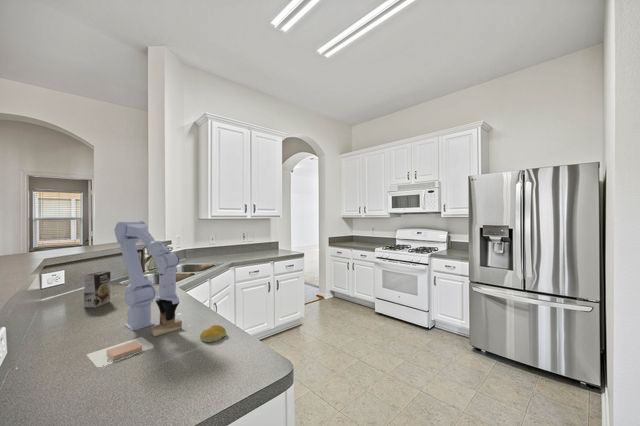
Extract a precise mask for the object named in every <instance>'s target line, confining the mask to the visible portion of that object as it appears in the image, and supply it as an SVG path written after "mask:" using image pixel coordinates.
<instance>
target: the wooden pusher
mask: <svg viewBox="0 0 640 426" xmlns="http://www.w3.org/2000/svg"><path fill="white" fill-rule="evenodd" d="M180 328H181V329H182V328H183V321H182V320H181V319H179V318H178V319H176V313H175V314H174V317H173V319H172V320H169V321H167V319H166V313H165V312H164V313H160V312H159V323H158V324H154V325H151V329H150V330H151V333H150V334H151V335H152V336H153V337H157V336H161V335H165V334H167V333H170V332H175V331H178V330H180ZM177 329H178V330H177Z"/></svg>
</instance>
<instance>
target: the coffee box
mask: <svg viewBox="0 0 640 426" xmlns="http://www.w3.org/2000/svg"><path fill="white" fill-rule="evenodd" d="M111 273H112V272H111V271H98V272H93V273H89V274H85V275H84V283H83V284H84V285H83V286H84V291H83V292H84V293H83V308H98V307H101V306H103V305H106V304H108V303H110V302H111Z"/></svg>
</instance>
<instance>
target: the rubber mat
mask: <svg viewBox="0 0 640 426" xmlns="http://www.w3.org/2000/svg"><path fill="white" fill-rule="evenodd" d="M133 341H136V342H137V343H138V344H140V345H141V346H142V349H143V348H144V349H143V350H145V349H146V350H148V349H149V350H148V351H150V348H151V347H152V346H153V345H154V344H153V343H151V342H150V341H148V340H147V339H145V338H144V337H142V336H140V337H137V338H134V339H131V340H127V341H124V342H121V343H118V344H115V345H112V346H109V347H106V348H102V349H99V350H96V351H93V352H89V353H87V354H86V357H88V359H89V360H90V362H91V363H93V364H94V365H95V367H96V368H97V367H101V368H103V367H106V366H109V365H112V364H113V363H112V362H110V361H111V360H110V361H109V362H110V363H109V362H107V359H108V358H109V357H108V355H107V354H106V353H107V350H108V349H111V348H115V347H118V346H121V345H124V344H127V343H130V342H133ZM150 346H151V347H150ZM135 354H136V353H135ZM130 357H131V358H132V357H133V354H132V355H130V356H126V359H128V358H130ZM124 358H125V357H124ZM120 359H121V358H120ZM120 359H118V360H117V361H115V362H114V361H113V362H114V363H117V362H120V361H121V360H120ZM108 364H109V365H108ZM103 365H104V366H103Z"/></svg>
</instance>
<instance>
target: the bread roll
mask: <svg viewBox="0 0 640 426" xmlns="http://www.w3.org/2000/svg"><path fill="white" fill-rule="evenodd" d="M226 335H227V331H226V328H225V327H223V326H222V325H221V324H220V325H219V324H214V325H211V326H210V327H208V329H207V328H206V329H205V330H203V331H202V332H201V333H200V335H199V338H200V340H201V341H202V342H203V341H204V343H206V342H209V343H212V342H211V341H216V342H218V341H217V340H219V339H220V340H222V339H223V338H222V337H224V336H225V337H226ZM221 338H222V339H221ZM220 340H219V341H220Z"/></svg>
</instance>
